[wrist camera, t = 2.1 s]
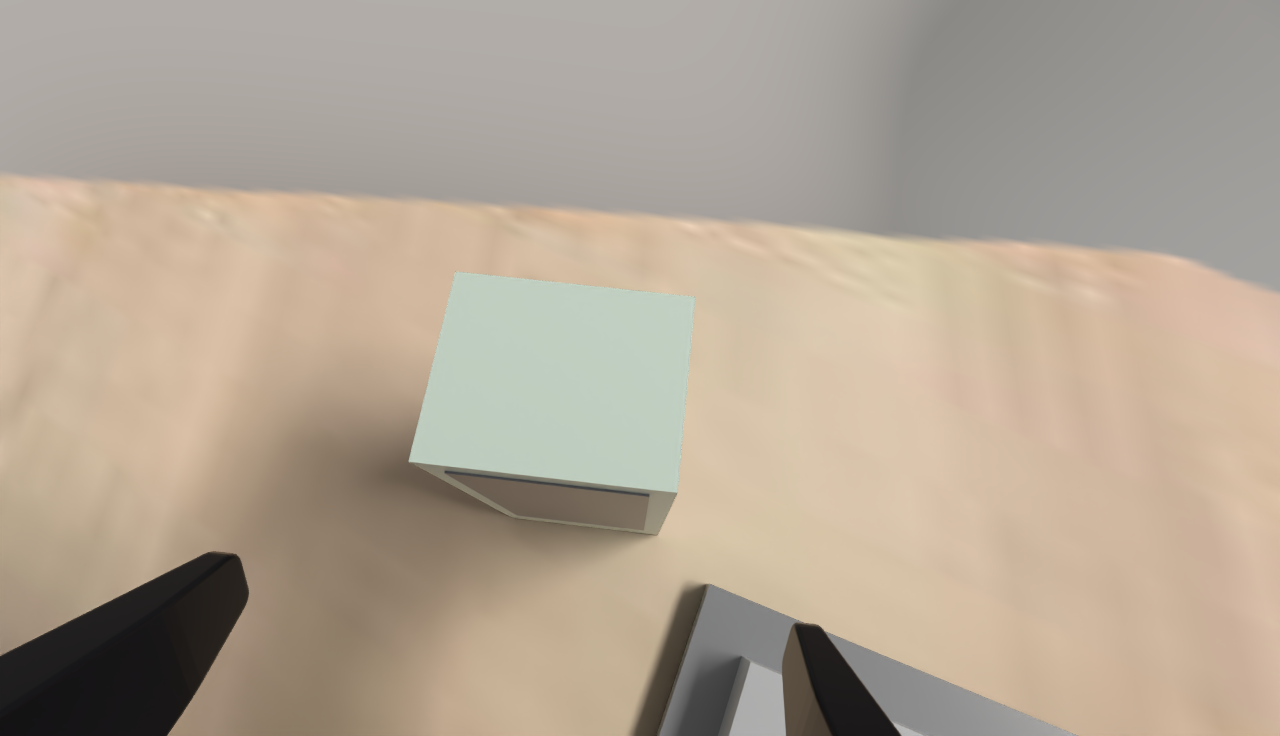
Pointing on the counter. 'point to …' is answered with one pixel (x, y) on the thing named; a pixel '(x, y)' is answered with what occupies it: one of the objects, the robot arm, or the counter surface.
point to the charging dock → (753, 689)
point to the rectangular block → (559, 400)
